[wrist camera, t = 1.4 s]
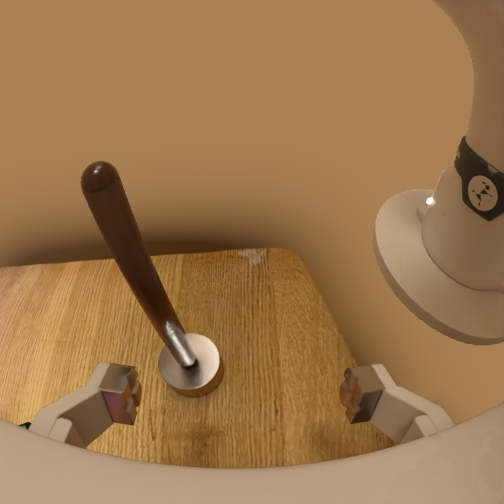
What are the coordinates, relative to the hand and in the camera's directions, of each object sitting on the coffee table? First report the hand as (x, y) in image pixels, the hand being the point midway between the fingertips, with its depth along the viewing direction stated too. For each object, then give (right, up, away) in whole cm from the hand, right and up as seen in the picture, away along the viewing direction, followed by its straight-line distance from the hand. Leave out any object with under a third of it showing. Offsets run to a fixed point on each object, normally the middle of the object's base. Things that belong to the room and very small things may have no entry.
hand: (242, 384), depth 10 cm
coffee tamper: (-5, -6, +15) cm, 17 cm away
